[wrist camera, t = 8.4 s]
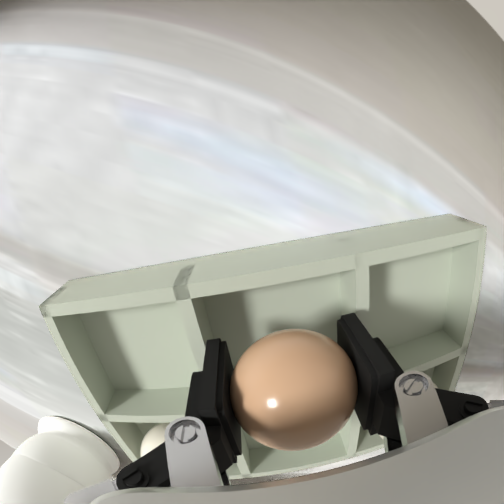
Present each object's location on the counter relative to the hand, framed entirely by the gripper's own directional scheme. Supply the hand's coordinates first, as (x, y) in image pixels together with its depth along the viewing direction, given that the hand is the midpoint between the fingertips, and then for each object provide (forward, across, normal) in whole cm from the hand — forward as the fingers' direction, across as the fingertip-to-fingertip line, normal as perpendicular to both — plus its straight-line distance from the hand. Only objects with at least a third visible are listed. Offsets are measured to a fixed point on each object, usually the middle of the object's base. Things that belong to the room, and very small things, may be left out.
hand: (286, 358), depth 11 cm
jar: (+4, +19, +12) cm, 23 cm away
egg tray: (+4, 0, +4) cm, 5 cm away
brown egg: (0, 0, 0) cm, 0 cm away
